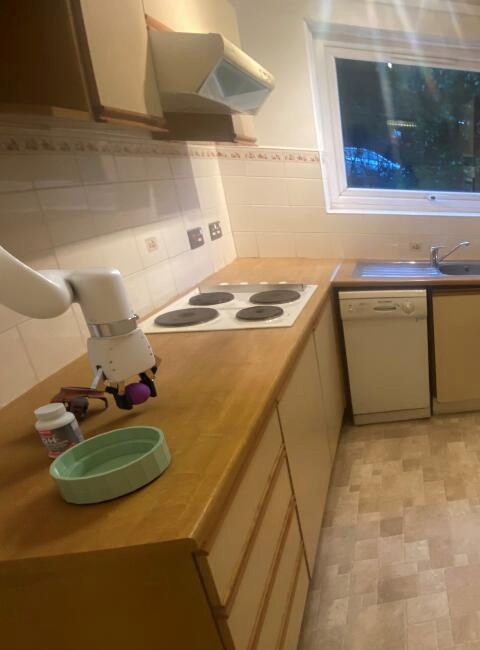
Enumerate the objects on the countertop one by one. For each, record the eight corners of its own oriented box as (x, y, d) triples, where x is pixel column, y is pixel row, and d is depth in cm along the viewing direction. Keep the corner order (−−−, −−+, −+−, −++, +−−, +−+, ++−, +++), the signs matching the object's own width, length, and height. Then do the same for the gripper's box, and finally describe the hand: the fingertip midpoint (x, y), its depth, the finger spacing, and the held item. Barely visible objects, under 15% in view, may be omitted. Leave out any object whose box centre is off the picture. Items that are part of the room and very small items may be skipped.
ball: (118, 407, 96) (111, 387, 94) (140, 396, 100) (134, 377, 98) (137, 410, 95) (130, 390, 93) (158, 399, 99) (152, 379, 98)
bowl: (37, 499, 73) (23, 473, 71) (126, 445, 87) (117, 421, 85) (112, 512, 71) (100, 485, 68) (191, 454, 84) (184, 430, 82)
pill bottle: (46, 463, 82) (25, 419, 78) (51, 448, 86) (31, 406, 82) (85, 452, 85) (66, 409, 81) (88, 439, 89) (70, 397, 85)
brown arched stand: (42, 422, 95) (51, 384, 96) (100, 423, 102) (108, 388, 103) (47, 429, 87) (57, 388, 88) (109, 429, 94) (118, 392, 95)
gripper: (137, 312, 99) (159, 383, 106) (51, 340, 83) (83, 420, 90) (165, 315, 98) (186, 386, 105) (84, 343, 82) (114, 425, 89)
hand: (138, 401), depth 97 cm, fingers closed on ball, 4 cm apart
